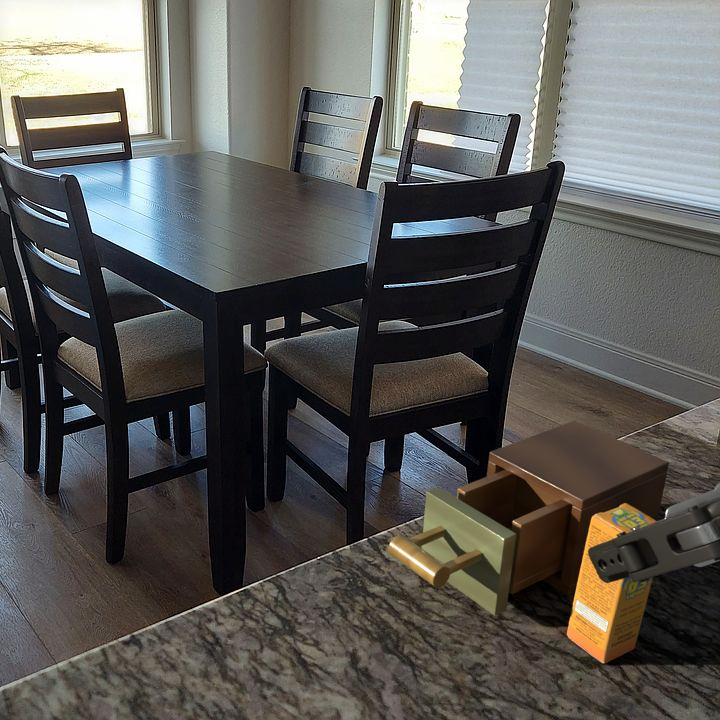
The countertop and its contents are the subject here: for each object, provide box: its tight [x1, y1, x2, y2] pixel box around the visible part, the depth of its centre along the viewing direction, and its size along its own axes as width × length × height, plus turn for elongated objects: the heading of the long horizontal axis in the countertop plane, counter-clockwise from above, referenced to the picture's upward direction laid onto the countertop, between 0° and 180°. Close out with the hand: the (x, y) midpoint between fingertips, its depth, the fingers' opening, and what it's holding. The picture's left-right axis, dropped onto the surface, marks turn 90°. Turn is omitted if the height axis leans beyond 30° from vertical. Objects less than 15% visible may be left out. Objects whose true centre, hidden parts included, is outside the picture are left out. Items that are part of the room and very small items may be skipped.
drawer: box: [387, 470, 573, 617], centre depth 62 cm, size 14×7×6 cm, turn 122°
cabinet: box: [486, 420, 670, 596], centre depth 67 cm, size 10×9×8 cm
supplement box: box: [566, 503, 658, 664], centre depth 56 cm, size 3×3×10 cm
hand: (645, 545), depth 53 cm, fingers open, 8 cm apart
